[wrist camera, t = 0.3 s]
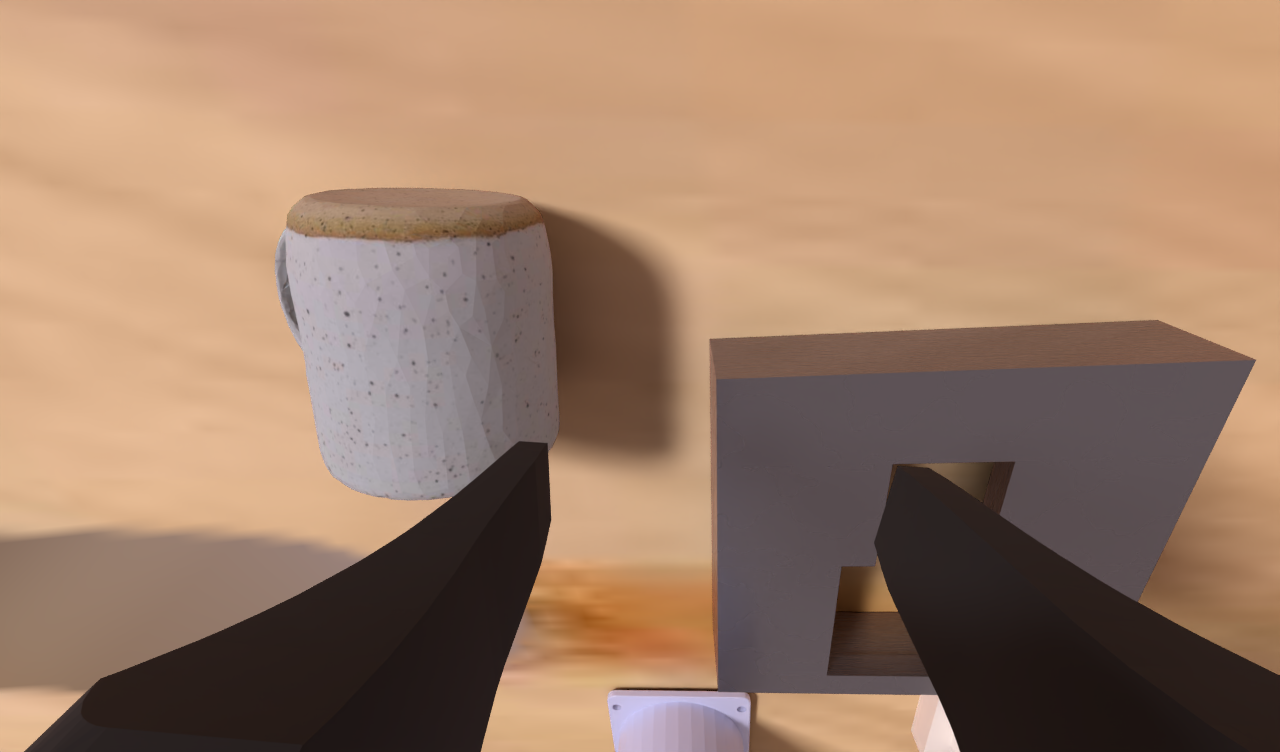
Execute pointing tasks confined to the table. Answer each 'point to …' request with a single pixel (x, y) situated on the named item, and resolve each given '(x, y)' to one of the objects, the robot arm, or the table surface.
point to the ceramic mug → (421, 332)
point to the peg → (932, 727)
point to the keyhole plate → (938, 433)
